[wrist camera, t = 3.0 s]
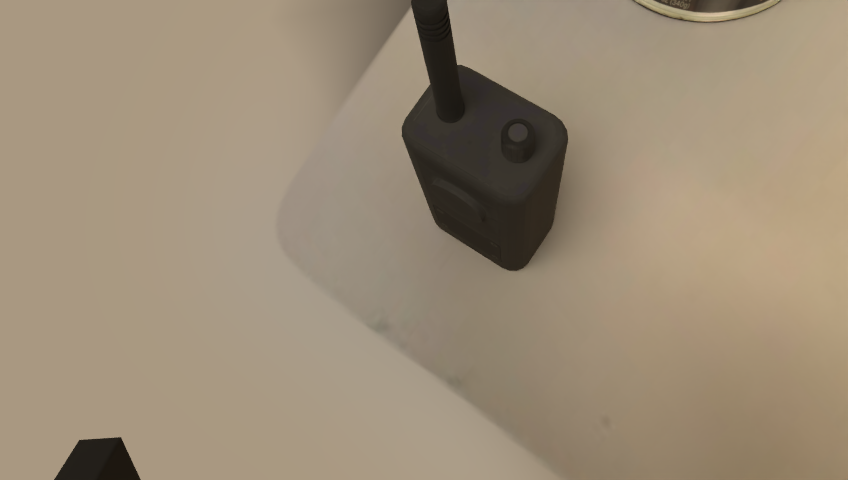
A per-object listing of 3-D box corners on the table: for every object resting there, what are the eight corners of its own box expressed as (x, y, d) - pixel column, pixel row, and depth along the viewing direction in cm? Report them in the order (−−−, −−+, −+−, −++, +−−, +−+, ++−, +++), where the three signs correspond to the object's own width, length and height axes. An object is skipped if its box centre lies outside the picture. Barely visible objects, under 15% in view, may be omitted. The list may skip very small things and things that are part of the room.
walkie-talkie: (559, 216, 29) (601, 11, 15) (514, 283, 29) (515, 136, 15) (463, 159, 31) (417, -82, 16) (419, 222, 30) (332, 31, 16)
